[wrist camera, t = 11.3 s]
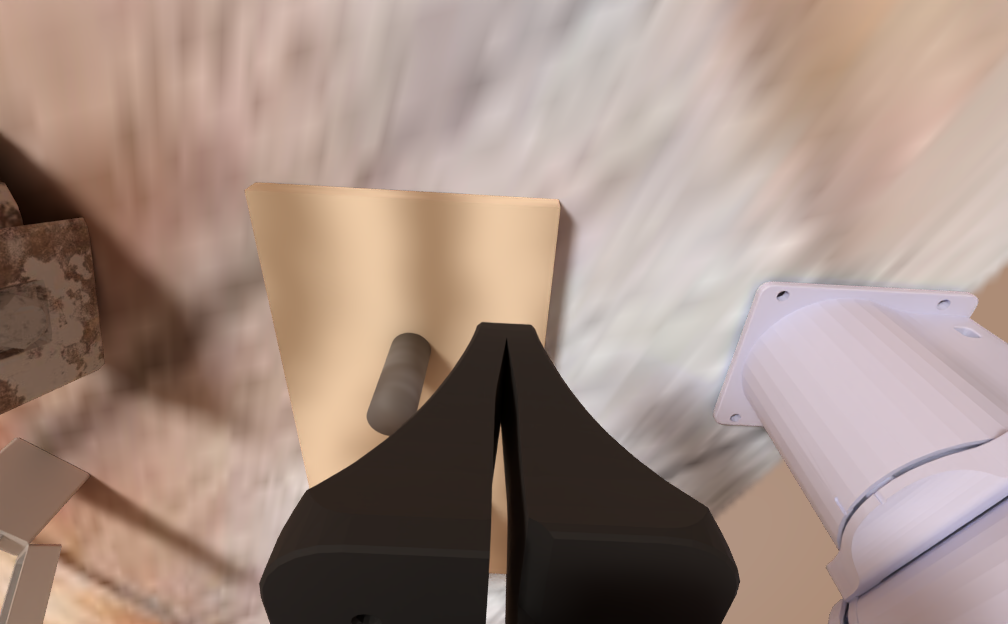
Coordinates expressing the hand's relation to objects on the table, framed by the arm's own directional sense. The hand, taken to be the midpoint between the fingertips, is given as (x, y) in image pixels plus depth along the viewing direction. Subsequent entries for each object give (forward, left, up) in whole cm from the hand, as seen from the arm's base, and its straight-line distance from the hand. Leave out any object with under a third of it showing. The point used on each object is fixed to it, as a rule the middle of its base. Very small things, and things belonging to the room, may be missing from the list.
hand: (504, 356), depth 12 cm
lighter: (+24, +17, -10) cm, 31 cm away
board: (+4, +11, -9) cm, 15 cm away
